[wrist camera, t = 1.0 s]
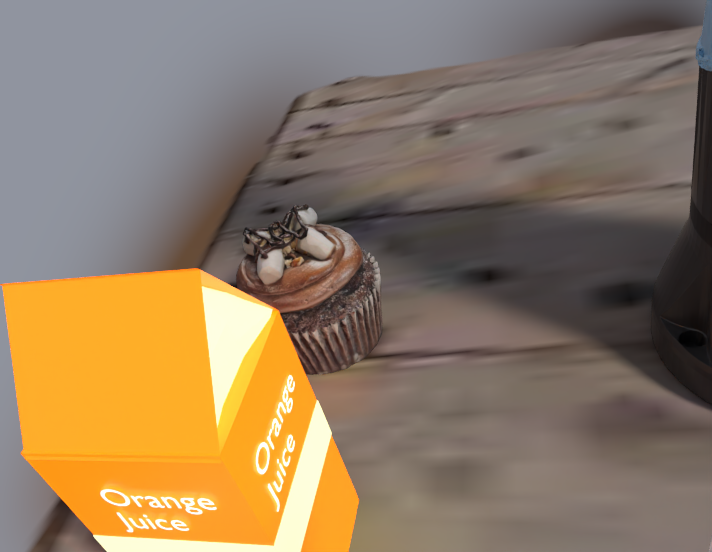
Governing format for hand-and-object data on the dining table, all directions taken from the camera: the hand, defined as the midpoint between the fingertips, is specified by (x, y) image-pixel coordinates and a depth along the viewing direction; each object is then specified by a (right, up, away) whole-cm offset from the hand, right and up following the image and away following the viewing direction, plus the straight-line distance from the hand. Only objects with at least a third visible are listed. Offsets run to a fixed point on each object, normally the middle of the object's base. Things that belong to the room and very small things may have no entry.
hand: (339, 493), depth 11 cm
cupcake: (-2, -1, +38) cm, 38 cm away
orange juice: (-4, -12, +25) cm, 28 cm away
